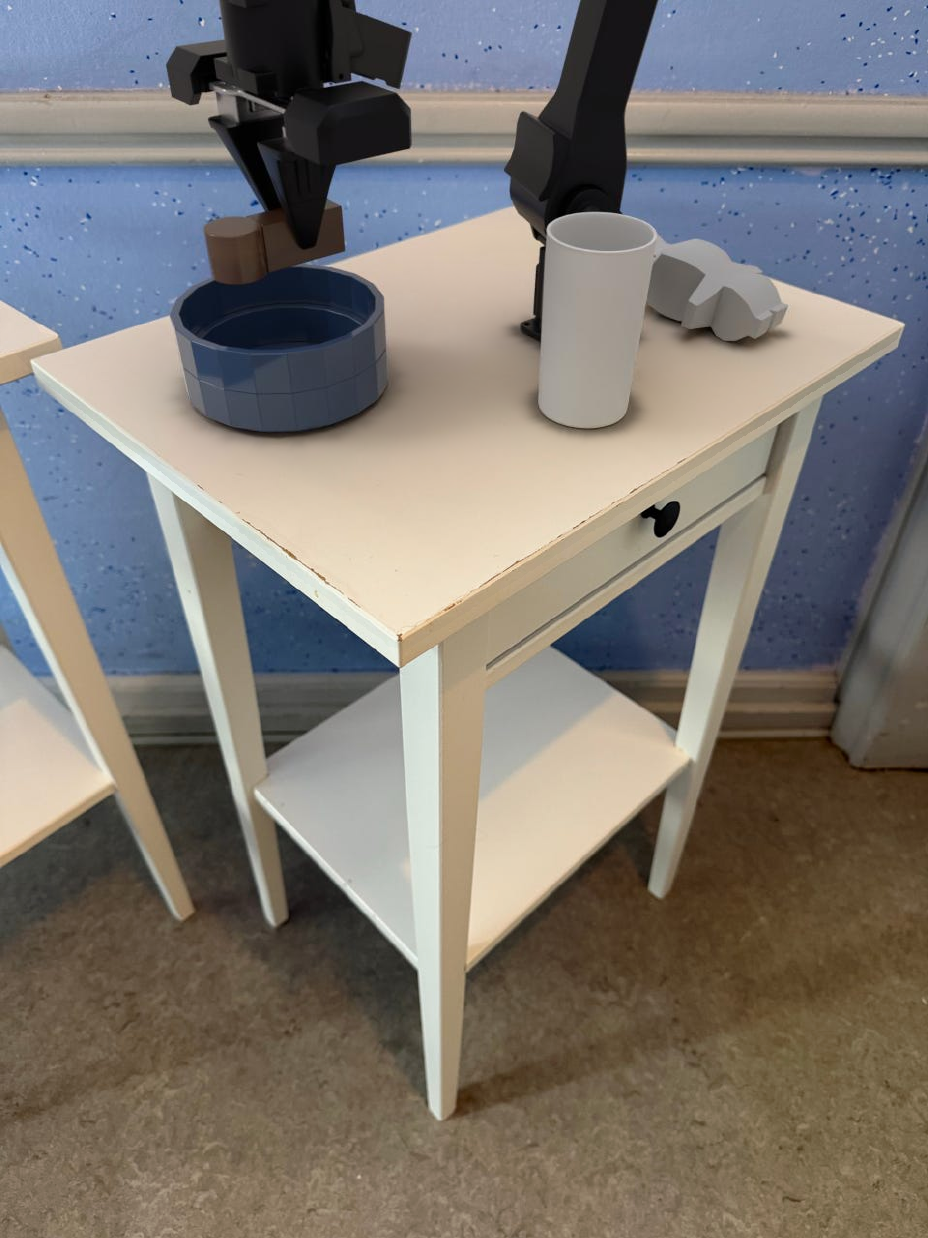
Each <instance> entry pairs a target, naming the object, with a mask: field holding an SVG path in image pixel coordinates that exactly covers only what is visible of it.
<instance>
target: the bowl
mask: <svg viewBox="0 0 928 1238" xmlns="http://www.w3.org/2000/svg"><path fill="white" fill-rule="evenodd" d="M385 306H386V305H385V296H384V295H383V293H382V292H381V291H380V290H379V288H378V287H377V286H376V284H375V283H373V282H372V281H370V280H368V279H367V278H364V277H363V276H361V275H359V274H357V273H355V272H351V271H348V270H344V269H341V268H338V267H333V266H328V265H327V266H326V265H317V264H310V263H302V264H299V265H295V266H292V267H288V268H285V269H281V270H278V271H274V272H270V273H267V275H266V276H265V277H264V278H263V279H261V280H259V281H256V282H253V283H249V284H242V285H229V284H223V283H219V282H217V281H215V280H214V279H213V278H212V276H210V277H209V278H206V279H204V280H202V281H200V282H198V283H196V284H194V285H192V286H190V287H189V288H188V289H186V290H185V291H184V292H183V293H181V295H179V296H178V297H177V298H175V301H174V303H173V305H172V308H171V310H170V313H169V319H170V323H171V328H172V332H173V336H174V341H175V346H176V351H177V355H178V359H179V364H180V369H181V373H182V377H183V378H182V379H183V383H184V386H185V390H186V394H187V397H188V400H189V402H190V404H191V405H192V406H193V407H194V408H195V409H197V410H198V411H199V412H200V413H201V414H202V415H204V416H205V417H206V418H208V419H211V420H214V421H216V422H219V423H221V424H224V425H226V426H229V427H232V428H236V429H237V428H238V429H242V430H247V431H251V432H260V433H295V432H296V433H297V432H304V431H310V430H316V429H319V428H323V427H328V426H331V425H333V424H337V423H339V422H342V421H345V420H347V419H349V418H351V417H353V416H355V415H358V414H359V413H361V412H362V411H364V410H365V409H366V408H368V407H370V406H371V405H372V404H374V403H375V402H376V401H378V399H379V398H380V396H381V395H382V394H383V392H384V391H385V389H386V388H387V386H388V383H389V365H388V364H389V362H388V347H387V346H388V344H387V327H386V326H387V325H386V323H387V322H386V307H385Z"/></svg>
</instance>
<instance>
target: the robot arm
mask: <svg viewBox="0 0 928 1238" xmlns="http://www.w3.org/2000/svg"><path fill="white" fill-rule="evenodd" d="M218 4H219V11H220V17H221V18H220V19H221V24H222V25H221V26H222V30H223V39H217V40H210V41H203V42H195V43H189V44H183V45H182V44H181V45H176V46H175V48H174V49H173V51H172V53H171V55H170V56H169V58H168V60H167V62H166V64H165V68H166V73H167V78H168V84H169V89H170V93H171V94H170V95H171V98H173V99H175V100H177V101H179V102H181V103H184V104H185V105H188V106H195V105H199V104H200V101H201V99H202V94H203V93H205V94H206V93H211V92H215V98H216V104H217V111H218V114H217V115H212V116H209V117H208V118H207V123H208V125H209V127H210V128H211V129H212V130H214V131H215V133H216V134H217V135H218V137H219V139H220V140H221V142H222V143H223V145H224V146H225V148H226V150H227V152H228V153H229V155H230V156H231V157H232V159H233V161H234V162H235V164H236V166H237V167H238V169H239V171H241V174H242V175H243V177H244V179H245V180H246V182H247V184H248V186H249V187H250V188H251V190H252V192H253V194H254V195H255V197H256V199H257V200H258V202H259V204H260V206H261V207H262V209H263V210H264V211H263V212H266V211H270V210H274V209H278V208H283V210H284V213H285V215H286V218H287V220H288V223H289V225H290V228H291V230H292V232H293V234H294V237H295V239H296V241H297V243H298V245H299V247H300V248H301V249H303V250H306V249H310V248H313V247H315V246H316V244H317V241H318V236H319V232H320V227H321V223H322V218H323V214H324V209H325V205H326V201H327V199H328V196H329V192H330V188H331V184H332V180H333V178H334V174H335V171H336V168H337V166H340V165H344V164H345V165H346V164H349V163H353V162H357V161H358V162H359V161H363V160H366V159H370V158H376V157H379V156H384V155H389V154H393V153H397V152H401V151H405V150H410V149H411V147H412V145H413V141H412V140H413V139H412V138H413V137H412V135H413V134H412V108H411V107H410V106H409V105H408V104H407V103H406V101H405V100H404V99H403V98H402V96H400V95H399V93H398V92H396V91H393V90H389V89H387V88H384V87H381V86H378V85H375V84H373V83H370V82H367V81H363V80H359V81H353V82H351V81H352V74H353V75H356V76H359V77H361V78H365V79H368V80H372V81H375V80H376V79H377V80H379V81H383V82H385V85H386V86H387V87H391V88H393V89H397V90H400V89H401V86H402V82H403V77H404V72H405V68H406V63H407V58H408V55H409V49H410V46H411V45H410V44H411V40H412V35H413V32H411V31H410V30H407V29H404V28H401V27H399V26H396V25H393V24H391V23H388V22H385V21H383V20H380V19H377V18H374V17H372V16H370V15H367V14H364V13H360V12H358V11H357V7H356V6H357V5H356V1H355V0H218ZM658 4H659V0H579V3H578V7H577V12H576V16H575V19H574V23H573V27H572V30H571V34H570V39H569V42H568V46H567V49H566V50H567V51H566V54H565V58H564V63H563V65H562V70H561V73H560V76H559V81H558V84H557V86H556V89H555V92H554V94H553V95H552V96H551V98H550V99H549V100H548V102H547V104H546V105H545V106H544V108H543V109H542V110H541V112H540V113H539V114H538V116H536V115H533V114H532V113H529V112H527V111H525V110H524V111H521V112H520V113H519V115H518V119H517V123H516V130H515V131H516V132H515V141H514V146H513V150H512V153H511V155H510V157H509V160H508V162H506V165H505V166H504V167H503V172H504V173H505V174H506V175H508V177H510V182H509V190H508V191H509V198H510V201H512V204H513V206H514V208H515V210H516V212H517V214H518V215H519V216H520V217H521V218H523V219H524V220H525V222H527V223H528V224H529V227H530V231H531V233H532V237H533V238H534V240H536V242H537V241H538V242H540V243H541V244H542V246H540V247H539V253H538V257H539V258H538V263H537V264H536V266H535V275H534V293H533V309H532V315H533V316H534V317H533V318H530V319H527V320H524V321H522V322H520V325H519V326H520V331H521V332H523V333H525V334H527V335H529V336H531V337H533V338H535V339H537V340H539V341H540V342H541V334H542V313H543V292H544V271H545V253H546V240H547V227H548V225H549V224H550V223H551V222H552V221H553V220H555V219H557V218H560V217H562V216H566V215H570V214H575V213H584V212H607V213H616V214H622V215H624V214H623V212H622V211H621V208H622V203H623V202H622V201H623V196H624V189H625V184H626V178H627V173H628V151H627V150H628V149H627V134H626V133H627V131H626V112H627V107H628V102H629V99H630V95H631V93H632V90H633V86H634V84H635V83H634V82H635V79H636V76H637V73H638V69H639V67H640V62H641V60H642V56H643V52H644V50H645V46H646V43H647V40H648V36H649V33H650V29H651V27H652V23H653V19H654V16H655V13H656V11H657V7H658ZM328 83H333V84H337V85H330V86H326V87H325V84H328Z"/></svg>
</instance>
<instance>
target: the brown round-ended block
mask: <svg viewBox="0 0 928 1238" xmlns="http://www.w3.org/2000/svg"><path fill="white" fill-rule="evenodd" d="M202 232H203V238H204V244H205V249H206V255H207V259H208V265H209V271H210V277H212V278H213V279H214V280H215V281H217V282H219V283H223V284H229V285H242V284H249V283H253V282H256V281H259V280H261V279H263V278H264V277H265V276H266V275H267V273H270V272H274V271H278V270H281V269H285V268H288V267H292V266H295V265H299V264H307V263H309V262H313V261H316V260H321V259H323V258H327V257H330V256H334V255H338V254H342V253H345V252H346V239H345V228H344V215H343V206H342V205H341V204H339V203H337V202H335V201H334V200H333V201H332V200H331V199H329V198H327V201H326V205H325V209H324V214H323V218H322V223H321V227H320V232H319V236H318V241H317V244H316V246H315V247H313V248H310V249H306V250H303V249H301V248H300V247H299V245H298V243H297V241H296V239H295V237H294V234H293V232H292V230H291V228H290V225H289V223H288V220H287V218H286V215H285V213H284V210H283V208H278V209H274V210H270V211H266V212H265V211H262V212H258V213H254V214H249V215H246V216H226V217H225V216H224V217H219V218H216V219H213V220H211V221H208V222H206V224H204V225H203V227H202Z"/></svg>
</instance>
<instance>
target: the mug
mask: <svg viewBox="0 0 928 1238" xmlns="http://www.w3.org/2000/svg"><path fill="white" fill-rule="evenodd" d="M622 214H623V213H622ZM622 214H616V213H607V212H584V213H575V214H570V215H566V216H562V217H560V218H557V219H555V220H553V221H552V222H551V223H550V224H549V225H548V227H547V240H546V253H545V271H544V292H543V313H542V334H541V341H540V352H539V353H540V354H539V376H538V397H537V398H538V400H537V403H538V407H539V410H540V411H541V412H542V414H543V415H544V416H545V417H546V418H548V419H550V420H551V421H553V422H555V423H557V424H559V425H563V426H567V427H570V428H571V427H572V428H578V429H597V428H603V427H607V426H610V425H614V424H615V423H618V422H619V421H620V420H621V419H623V418H624V417H625V415H626V413H627V411H628V407H629V401H630V395H631V390H632V386H633V385H632V384H633V379H634V374H635V368H636V363H637V362H636V361H637V357H638V352H639V344H640V339H641V334H642V328H643V322H644V316H645V310H646V304H647V294H648V288H649V283H650V277H651V271H652V265H653V260H654V251H655V244H656V239H657V234H658V232H657V230H656V229H655V227H653V226H652V225H651V224H650V223H648V222H647V221H644V220H642V219H640V218H637V217H634V216H631V215H626V214H623V215H622Z"/></svg>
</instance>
